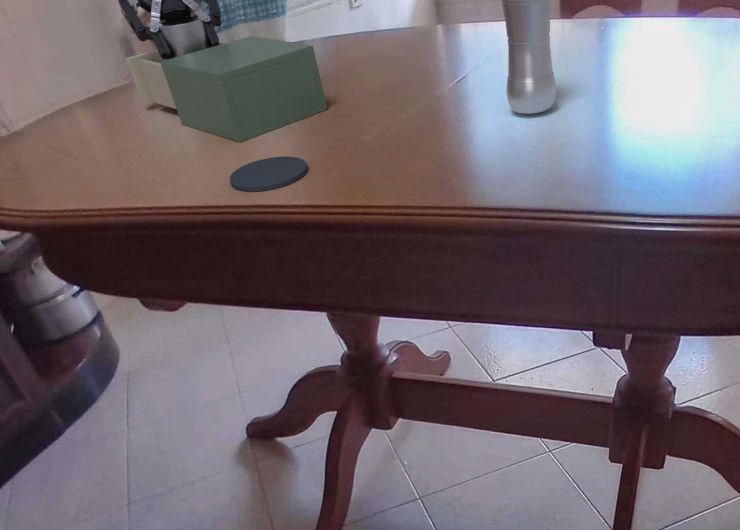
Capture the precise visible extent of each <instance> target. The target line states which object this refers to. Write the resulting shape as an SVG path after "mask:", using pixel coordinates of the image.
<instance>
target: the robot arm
mask: <svg viewBox="0 0 740 530" xmlns="http://www.w3.org/2000/svg"><path fill="white" fill-rule="evenodd" d="M117 1H118V4H119V9H120V12H121V14H122V15H123V17H124V19H125V20H126V23H128V25H129V26H130V28H131V29H132V30H131V31H133V33H134V35H135V36H136V38H137V39H138V40H139V41H140V42H146V41H147V40H148V41H152V42H153V43H154V46H155V48H156V50H158V52H159V54H160V57H161V58H162V59H163V60H164V59H167V60H168V59H171V58H172V54H171V51H170V49H169V47H168V45H167V43H166V40H165V38H164V36H163V34H162V32H161V29H160V26H159V24H160V23H162V22H165V21H168V20H172V19H177V18H182V17H192V16H197V17H201V19H202V22H203V25H204V28H205V32H206V35H207V38H208V41H209V44H210V47H214V46H218V45H219V43H220V37H219V36H218V34H217V32H216V29H215V27H220V26H222V16H221V15H222V13H221V9H220V6H219V2H218V0H201V1H202V2H203V3H205V4H207V7H208V10H209V14H207V13H206V12H205V11H204V10H203V9H201V7H200V5H199V4H198V3H197V2H196V1H195V0H117ZM139 7H140V8H141V9H143V10H144V11H145V12H147V13H149V14H150V23H149V26H147V25H146V26H145V25H144V23H143V21H141V19H140V17H139V10H138V8H139Z"/></svg>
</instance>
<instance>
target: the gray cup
mask: <svg viewBox="0 0 740 530" xmlns="http://www.w3.org/2000/svg"><path fill="white" fill-rule="evenodd" d="M159 26H160V29H161V32H162V34H163V36H164V38H165V40H166V43H167V45H168V47H169V49H170V51H171V54H172V58H175V57H179V56H182V55H186V54H189V53H193V52H196V51H200V50H203V49H207V48H210V44H209V41H208V38H207V35H206V32H205V28H204V25H203V22H202V19H201V17H197V16H192V17H182V18H177V19H172V20H168V21H165V20H164V22H162V23H160V24H159Z"/></svg>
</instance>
